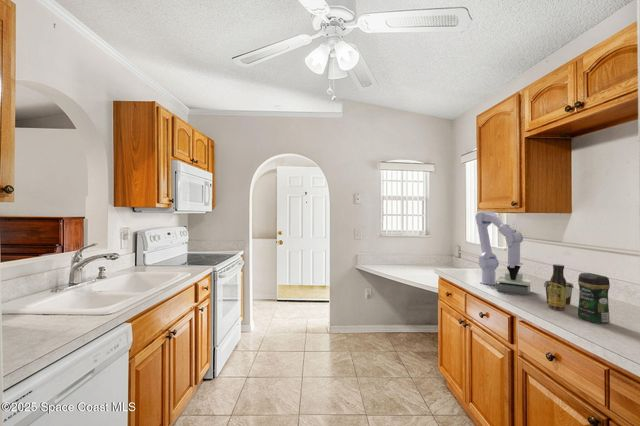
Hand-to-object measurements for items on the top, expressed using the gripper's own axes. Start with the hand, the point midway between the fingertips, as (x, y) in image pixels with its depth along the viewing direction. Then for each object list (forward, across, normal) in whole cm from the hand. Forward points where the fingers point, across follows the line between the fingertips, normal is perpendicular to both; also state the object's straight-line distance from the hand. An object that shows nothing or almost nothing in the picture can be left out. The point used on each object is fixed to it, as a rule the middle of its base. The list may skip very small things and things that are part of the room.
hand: (513, 279), depth 177 cm
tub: (+6, 0, 0) cm, 7 cm away
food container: (+7, -14, -19) cm, 25 cm away
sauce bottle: (+7, -26, -20) cm, 34 cm away
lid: (+1, 0, 0) cm, 1 cm away
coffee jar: (+7, -36, -32) cm, 49 cm away
